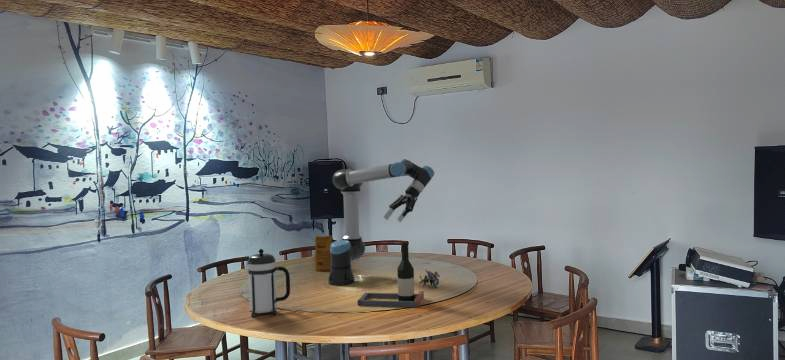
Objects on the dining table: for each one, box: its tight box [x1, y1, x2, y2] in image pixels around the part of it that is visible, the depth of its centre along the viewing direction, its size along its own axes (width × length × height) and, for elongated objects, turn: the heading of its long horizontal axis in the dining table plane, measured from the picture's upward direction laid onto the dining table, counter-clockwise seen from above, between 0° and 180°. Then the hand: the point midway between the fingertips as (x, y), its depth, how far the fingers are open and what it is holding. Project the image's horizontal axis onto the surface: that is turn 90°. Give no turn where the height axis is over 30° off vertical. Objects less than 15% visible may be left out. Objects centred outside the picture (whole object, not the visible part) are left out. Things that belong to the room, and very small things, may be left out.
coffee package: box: [313, 235, 333, 272], centre depth 342 cm, size 10×12×22 cm
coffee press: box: [243, 248, 291, 318], centre depth 247 cm, size 17×16×30 cm
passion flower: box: [419, 269, 441, 289], centre depth 287 cm, size 11×11×12 cm
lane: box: [357, 290, 425, 308], centre depth 259 cm, size 30×15×4 cm, turn 79°
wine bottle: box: [396, 240, 415, 301], centre depth 257 cm, size 8×8×30 cm
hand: (391, 219), depth 283 cm, fingers open, 13 cm apart
